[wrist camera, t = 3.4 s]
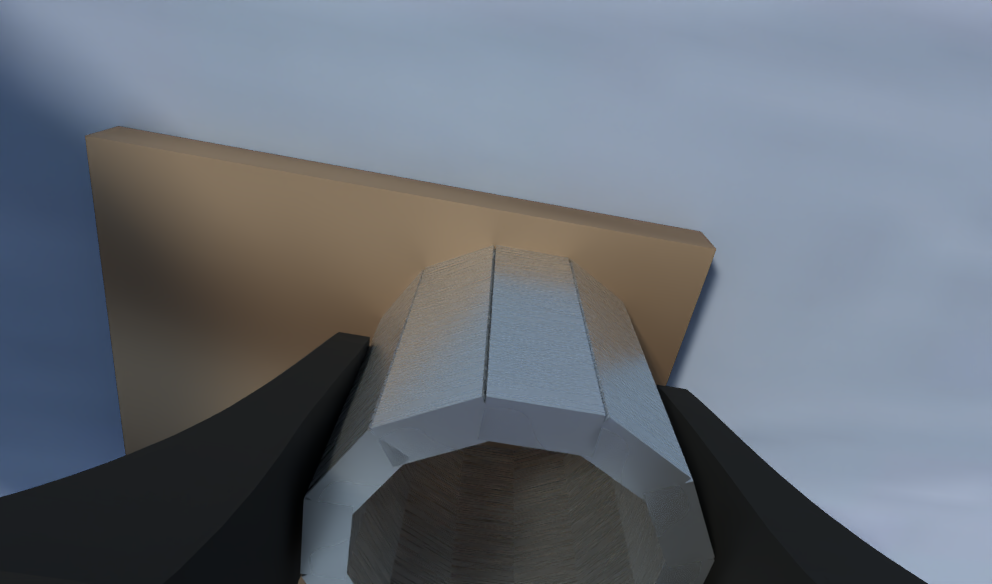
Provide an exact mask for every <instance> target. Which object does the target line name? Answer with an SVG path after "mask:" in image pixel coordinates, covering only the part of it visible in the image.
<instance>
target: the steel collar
mask: <svg viewBox="0 0 992 584" xmlns="http://www.w3.org/2000/svg"><path fill="white" fill-rule="evenodd" d="M488 441H492V442H498V443H505V444H511V445H517V446H524V447H521V448H517V449H514V450H513V449H507V448H500V447H494V446H488V445H481V444H480V443H484V442H488ZM714 558H715V556H714V553H713V549H712V546H711V542H710V539H709V535H708V531H707V528H706V524H705V521H704V517H703V514H702V510H701V507H700V503H699V500H698V496H697V492H696V489H695V485H694V482H693V479H692V477H691V474H690V471H689V469H688V466H687V464H686V461H685V459H684V456H683V454H682V451H681V448H680V446H679V443H678V441H677V438H676V436H675V433H674V430H673V428H672V425H671V423H670V420H669V418H668V415H667V413H666V410H665V407H664V405H663V402H662V400H661V397H660V395H659V392H658V389H657V387H656V384H655V382H654V379H653V377H652V374H651V372H650V369H649V366H648V364H647V361H646V359H645V356H644V354H643V351H642V348H641V346H640V343H639V341H638V338H637V336H636V333H635V331H634V328H633V325H632V323H631V320H630V318H629V315H628V313H627V310H626V307H625V305H624V303H623V301H622V300H620V299H619V298H618V297H617V296H616V295H614V294H613V293H612V292H611V291H610V290H608V289H607V288H606V287H605V286H603V285H602V284H601V283H600V282H599V281H597V280H596V279H595V278H594V277H593V276H591V275H590V274H589V273H588V272H587V271H585V270H584V269H583V268H582V267H581V266H579V265H578V264H577V263H576V262H574V261H573V260H572V259H570V260H569V258H568V257H564V256H558V255H552V254H547V253H541V252H535V251H530V250H524V249H518V248H513V247H507V246H501V245H496V249H495V248H494V245H491V246H488V247H485V248H482V249H479V250H476V251H473V252H470V253H467V254H464V255H461V256H458V257H455V258H452V259H449V260H446V261H443V262H440V263H437V264H434V265H431V266H428V267H426V268H425V270H424V269H423V270H422V271H421V272H420V273H419V274H418V275H417V277H416V278H415V279H414V280H413V281H412V282H411V284H410V285H409V286H408V287H407V288H406V289H405V291H404V292H403V293H402V294H401V295H400V296H399V297H398V299H397V300H396V301H395V302H394V303H393V304H392V306H391V307H390V308H389V309H388V310H387V311H386V313H385V314H384V315H383V316H382V318H381V320H380V322H379V324H378V327H377V329H376V332H375V334H374V336H373V339H372V341H371V343H370V346H369V348H368V351H367V353H366V355H365V358H364V360H363V362H362V365H361V367H360V369H359V372H358V374H357V376H356V378H355V381H354V383H353V385H352V388H351V390H350V392H349V395H348V397H347V399H346V402H345V404H344V406H343V409H342V411H341V413H340V416H339V418H338V420H337V423H336V425H335V427H334V430H333V432H332V434H331V437H330V439H329V441H328V444H327V446H326V448H325V451H324V453H323V455H322V458H321V460H320V462H319V465H318V467H317V469H316V472H315V474H314V476H313V479H312V481H311V483H310V486H309V488H308V490H307V493H306V495H305V497H304V503H303V524H302V546H301V567H300V574H302V576H301V577H302V578H303V580H304V581H305V583H306V584H703V583H704V581H705V579H706V577H707V575H708V573H709V571H710V569H711V567H712V565H713V563H714V561H715V560H714Z"/></svg>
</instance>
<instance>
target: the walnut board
mask: <svg viewBox="0 0 992 584" xmlns="http://www.w3.org/2000/svg"><path fill="white" fill-rule="evenodd" d="M85 140H86V147H87V155H88V163H89V171H90V179H91V187H92V195H93V202H94V210H95V218H96V226H97V234H98V242H99V250H100V257H101V265H102V273H103V281H104V289H105V297H106V304H107V312H108V320H109V328H110V336H111V344H112V352H113V359H114V367H115V375H116V383H117V391H118V399H119V407H120V414H121V422H122V430H123V438H124V446H125V454H126V455H128V454H130V453H133V452H135V451H137V450H140V449H142V448H145V447H147V446H149V445H152V444H154V443H157V442H159V441H162V440H164V439H166V438H169V437H171V436H173V435H175V434H177V433H180V432H182V431H184V430H186V429H188V428H190V427H192V426H194V425H196V424H198V423H200V422H202V421H204V420H206V419H208V418H210V417H212V416H213V415H215V414H217V413H219V412H221V411H223V410H225V409H226V408H228V407H230V406H232V405H233V404H235V403H236V402H238V401H240V400H241V399H243V398H244V397H246V396H248V395H249V394H251V393H253V392H254V391H256V390H257V389H259V388H261V387H262V386H264V385H265V384H267V383H268V382H270V381H271V380H273V379H274V378H275V377H277V376H278V375H280V374H281V373H283V372H284V371H285V370H287V369H288V368H290V367H291V366H293V365H294V364H295V363H297V362H298V361H300V360H301V359H302V358H304V357H305V356H306V355H308V354H309V353H310V352H312V351H313V350H314V349H316V348H317V347H318V346H320V345H321V344H322V343H324V342H325V341H326V340H328V339H329V338H330V337H332V336H333V335H335V334H336V333H338V332H343V333H349V334H355V335H361V336H367V337H370V343H371V341H372V339H373V336H374V334H375V332H376V329H377V327H378V324H379V322H380V320H381V318H382V316H383V315H384V314H385V313H386V311H387V310H388V309H389V308H390V307H391V306H392V304H393V303H394V302H395V301H396V300H397V299H398V297H399V296H400V295H401V294H402V293H403V292H404V291H405V289H406V288H407V287H408V286H409V285H410V284H411V282H412V281H413V280H414V279H415V278H416V277H417V275H418V274H419V273H420V272H421V271H422V270H423V269H424V270H425V268H426V267H428V266H431V265H434V264H437V263H440V262H443V261H446V260H449V259H452V258H455V257H458V256H461V255H464V254H467V253H470V252H473V251H476V250H479V249H482V248H485V247H488V246H491V245H494V248H495V249H496V245H501V246H507V247H513V248H518V249H524V250H530V251H535V252H541V253H547V254H552V255H558V256H564V257H568V258H569V260H570V259H572V260H573V261H574V262H576V263H577V264H578V265H579V266H581V267H582V268H583V269H584V270H585V271H587V272H588V273H589V274H590V275H591V276H593V277H594V278H595V279H596V280H597V281H599V282H600V283H601V284H602V285H603V286H605V287H606V288H607V289H608V290H610V291H611V292H612V293H613V294H614V295H616V296H617V297H618V298H619V299H620V300H622V301H623V303H624V305H625V307H626V310H627V313H628V315H629V318H630V320H631V323H632V325H633V328H634V331H635V333H636V336H637V338H638V341H639V343H640V346H641V348H642V351H643V354H644V356H645V359H646V361H647V364H648V366H649V369H650V372H651V374H652V377H653V379H654V382H655V384H657V385H663V386H666V384H667V381H668V378H669V376H670V373H671V370H672V368H673V365H674V362H675V360H676V357H677V354H678V351H679V349H680V346H681V343H682V341H683V338H684V335H685V332H686V330H687V327H688V324H689V322H690V319H691V316H692V314H693V311H694V308H695V305H696V303H697V300H698V297H699V295H700V292H701V289H702V286H703V284H704V281H705V278H706V276H707V273H708V270H709V268H710V265H711V262H712V259H713V257H714V254H715V251H716V248H715V247H714V246H713V245H712V244H711V243H710V241H709V240H708V239H707V238H706V237H705V236H704V235H703V233H702V232H700V231H694V230H689V229H683V228H678V227H672V226H667V225H661V224H655V223H650V222H644V221H639V220H633V219H628V218H622V217H617V216H611V215H606V214H600V213H595V212H589V211H584V210H578V209H573V208H567V207H562V206H556V205H551V204H545V203H540V202H534V201H529V200H523V199H518V198H512V197H506V196H501V195H495V194H490V193H484V192H479V191H473V190H468V189H462V188H457V187H451V186H446V185H440V184H435V183H429V182H424V181H418V180H413V179H407V178H402V177H396V176H391V175H385V174H380V173H374V172H369V171H363V170H357V169H352V168H346V167H341V166H335V165H330V164H324V163H319V162H313V161H308V160H302V159H297V158H291V157H286V156H280V155H275V154H269V153H264V152H258V151H253V150H247V149H242V148H236V147H231V146H225V145H220V144H214V143H208V142H203V141H197V140H192V139H186V138H181V137H175V136H170V135H164V134H159V133H153V132H148V131H142V130H137V129H131V128H126V127H120V126H117V127H114V128H110V129H107V130H103V131H100V132H96V133H93V134H89V135H86V136H85ZM370 343H369V346H370ZM480 444H481V445H488V446H494V447H500V448H507V449H513V450H514V449H517V448H521V447H524V446H517V445H511V444H505V443H498V442H492V441H488V442H484V443H480ZM301 576H302V574H301ZM301 576H300V579H299V582H298V584H306V583H305V581H304V580H303V578H302V577H301Z"/></svg>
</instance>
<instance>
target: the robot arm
mask: <svg viewBox="0 0 992 584" xmlns="http://www.w3.org/2000/svg"><path fill="white" fill-rule="evenodd" d="M369 343H370V337H367V336H361V335H355V334H349V333H343V332H338V333H336V334H335V335H333V336H332V337H330V338H329V339H328V340H326V341H325V342H324V343H322V344H321V345H320V346H318V347H317V348H316V349H314V350H313V351H312V352H310V353H309V354H308V355H306V356H305V357H304V358H302V359H301V360H300V361H298V362H297V363H295V364H294V365H293V366H291V367H290V368H288V369H287V370H285V371H284V372H283V373H281V374H280V375H278V376H277V377H275V378H274V379H273V380H271V381H270V382H268V383H267V384H265V385H264V386H262V387H261V388H259V389H257V390H256V391H254V392H253V393H251V394H249V395H248V396H246V397H244V398H243V399H241V400H240V401H238V402H236V403H235V404H233V405H232V406H230V407H228V408H226V409H225V410H223V411H221V412H219V413H217V414H215V415H213V416H212V417H210V418H208V419H206V420H204V421H202V422H200V423H198V424H196V425H194V426H192V427H190V428H188V429H186V430H184V431H182V432H180V433H177V434H175V435H173V436H171V437H169V438H166V439H164V440H162V441H159V442H157V443H154V444H152V445H149V446H147V447H145V448H142V449H140V450H137V451H135V452H133V453H130V454H128V455H125V456H123V457H121V458H118V459H116V460H113V461H111V462H108V463H105V464H103V465H100V466H97V467H94V468H91V469H89V470H86V471H83V472H80V473H77V474H74V475H71V476H68V477H65V478H62V479H59V480H56V481H53V482H50V483H47V484H44V485H41V486H38V487H34V488H31V489H28V490H24V491H21V492H18V493H14V494H11V495H7V496H3V497H0V584H298V582H299V579H300V576H301V574H300V567H301V546H302V524H303V503H304V497H305V495H306V493H307V490H308V488H309V486H310V483H311V481H312V479H313V476H314V474H315V472H316V469H317V467H318V465H319V462H320V460H321V458H322V455H323V453H324V451H325V448H326V446H327V444H328V441H329V439H330V437H331V434H332V432H333V430H334V427H335V425H336V423H337V420H338V418H339V416H340V413H341V411H342V409H343V406H344V404H345V402H346V399H347V397H348V395H349V392H350V390H351V388H352V385H353V383H354V381H355V378H356V376H357V374H358V372H359V369H360V367H361V365H362V362H363V360H364V358H365V355H366V353H367V351H368V348H369ZM656 387H657V389H658V392H659V395H660V397H661V400H662V402H663V405H664V407H665V410H666V413H667V415H668V418H669V420H670V423H671V425H672V428H673V430H674V433H675V436H676V438H677V441H678V443H679V446H680V448H681V451H682V454H683V456H684V459H685V461H686V464H687V466H688V469H689V471H690V474H691V477H692V479H693V482H694V485H695V489H696V492H697V496H698V500H699V503H700V507H701V510H702V514H703V517H704V521H705V524H706V528H707V531H708V535H709V539H710V542H711V546H712V549H713V553H714V556H715V558H714V560H715V561H714V563H713V565H712V567H711V569H710V571H709V573H708V575H707V577H706V579H705V581H704V583H703V584H928V583H926V582H924V581H923V580H921V579H920V578H918V577H917V576H915V575H914V574H912V573H911V572H909V571H908V570H906V569H904V568H903V567H901V566H900V565H898V564H897V563H895V562H894V561H892V560H891V559H889V558H887V557H886V556H885V555H883V554H882V553H880V552H879V551H877V550H876V549H874V548H873V547H872V546H870V545H869V544H867V543H866V542H864V541H863V540H862V539H860V538H859V537H858V536H856V535H855V534H853V533H852V532H851V531H849V530H848V529H847V528H845V527H844V526H843V525H841V524H840V523H839V522H837V521H836V520H835V519H833V518H832V517H831V516H829V515H828V514H827V513H825V512H824V511H823V510H822V509H820V508H819V507H818V506H816V505H815V504H814V503H813V502H811V501H810V500H809V499H808V498H807V497H805V496H804V495H803V494H802V493H801V492H800V491H798V490H797V489H796V488H795V487H794V486H792V485H791V484H790V483H789V482H788V481H787V480H785V479H784V478H783V477H782V476H781V475H779V474H778V473H777V472H776V471H775V470H774V469H773V468H772V467H770V466H769V465H768V464H767V463H766V462H765V461H764V460H763V459H762V458H761V457H759V456H758V455H757V454H756V453H755V452H754V451H753V450H752V449H751V448H750V447H749V446H748V445H746V444H745V443H744V442H743V441H742V440H741V439H740V438H739V437H738V436H737V435H736V434H735V433H734V432H733V431H732V430H731V429H730V428H729V427H727V426H726V425H725V424H724V423H723V422H722V421H721V420H720V419H719V418H718V417H717V416H716V415H715V414H714V413H713V412H712V411H711V410H710V409H708V408H707V407H706V406H705V405H704V404H703V403H702V402H701V401H700V400H699V399H697V398H696V397H695V396H694V395H693V394H692V393H690V392H689V391H688V390H686V389H681V388H675V387H669V386H663V385H657V384H656Z"/></svg>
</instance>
